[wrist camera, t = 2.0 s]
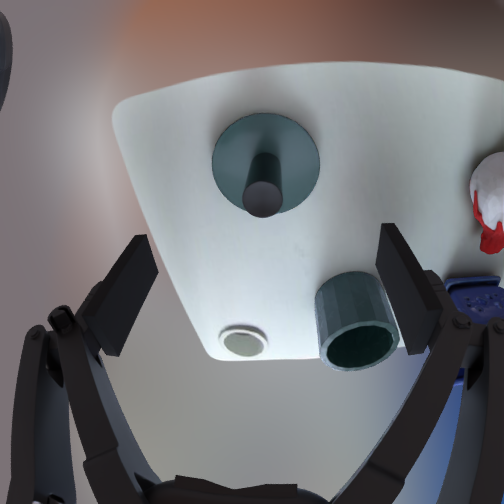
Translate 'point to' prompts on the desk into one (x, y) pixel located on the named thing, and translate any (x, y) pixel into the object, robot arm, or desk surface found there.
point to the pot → (354, 322)
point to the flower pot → (476, 301)
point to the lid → (265, 164)
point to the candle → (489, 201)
